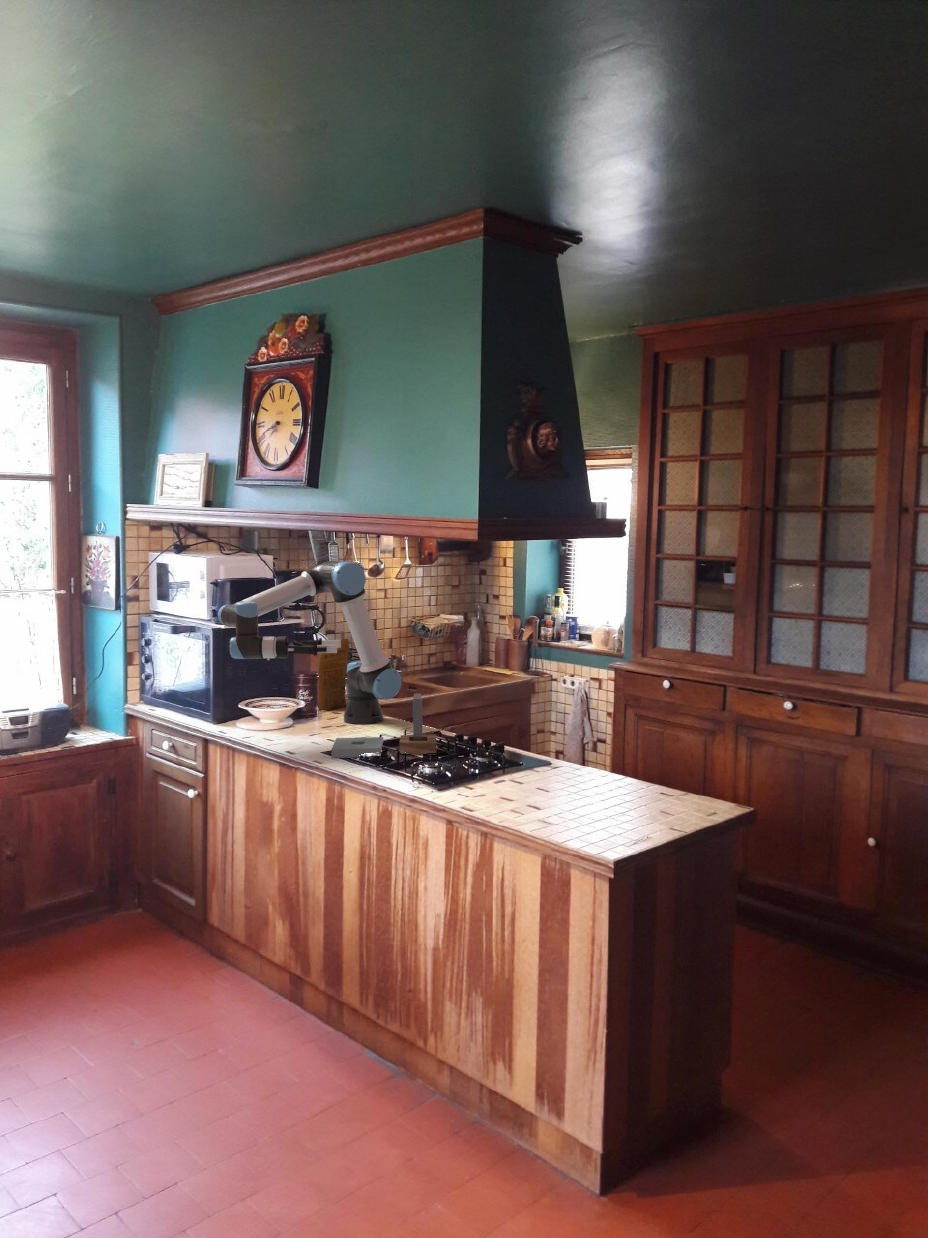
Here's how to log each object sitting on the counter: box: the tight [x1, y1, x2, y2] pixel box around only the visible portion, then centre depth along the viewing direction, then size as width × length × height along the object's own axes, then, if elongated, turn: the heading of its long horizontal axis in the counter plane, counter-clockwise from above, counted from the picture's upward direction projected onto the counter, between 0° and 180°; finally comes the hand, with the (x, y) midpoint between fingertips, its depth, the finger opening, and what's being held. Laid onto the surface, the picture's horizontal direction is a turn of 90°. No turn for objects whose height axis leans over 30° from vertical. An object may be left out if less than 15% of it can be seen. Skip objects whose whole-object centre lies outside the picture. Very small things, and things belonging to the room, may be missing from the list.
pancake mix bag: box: [317, 638, 350, 711], centre depth 408 cm, size 7×19×28 cm, turn 142°
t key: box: [412, 692, 424, 741], centre depth 331 cm, size 10×3×18 cm, turn 2°
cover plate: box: [331, 736, 385, 759], centre depth 332 cm, size 16×16×3 cm
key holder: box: [399, 734, 437, 754], centre depth 332 cm, size 12×12×4 cm
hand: (338, 646), depth 340 cm, fingers open, 13 cm apart
